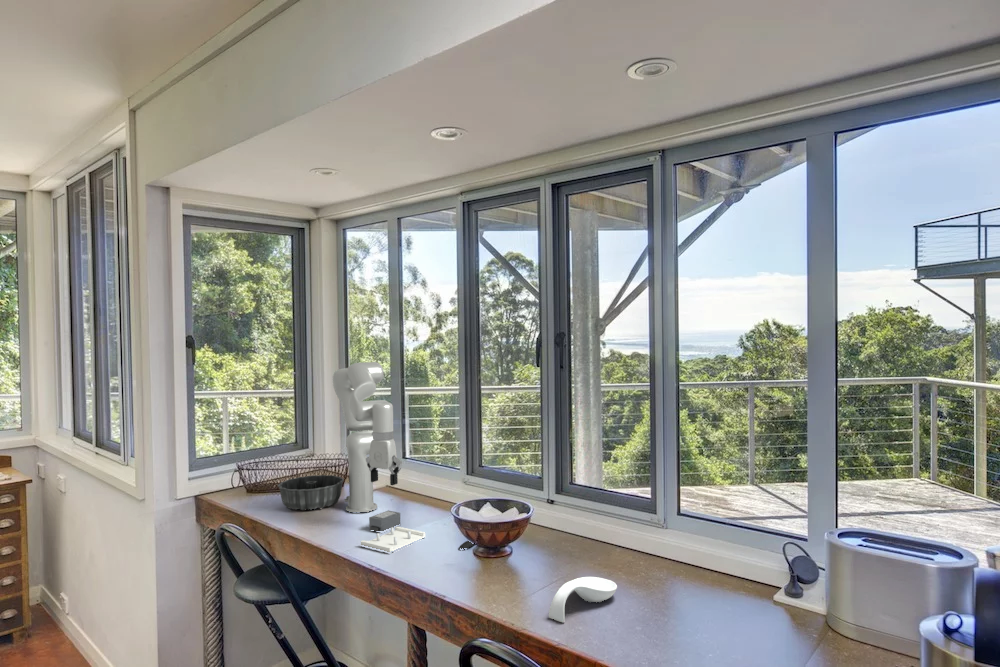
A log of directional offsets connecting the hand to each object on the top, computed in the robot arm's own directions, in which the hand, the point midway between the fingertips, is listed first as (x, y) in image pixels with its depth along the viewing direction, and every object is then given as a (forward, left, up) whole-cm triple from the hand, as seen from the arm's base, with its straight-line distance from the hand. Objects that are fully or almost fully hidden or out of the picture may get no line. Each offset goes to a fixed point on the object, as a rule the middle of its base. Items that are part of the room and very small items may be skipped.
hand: (384, 482), depth 227 cm
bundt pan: (-48, +7, -17) cm, 52 cm away
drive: (0, 0, -17) cm, 17 cm away
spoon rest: (+89, -20, -17) cm, 93 cm away
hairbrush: (+40, +8, -17) cm, 44 cm away
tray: (+13, -10, -17) cm, 23 cm away
